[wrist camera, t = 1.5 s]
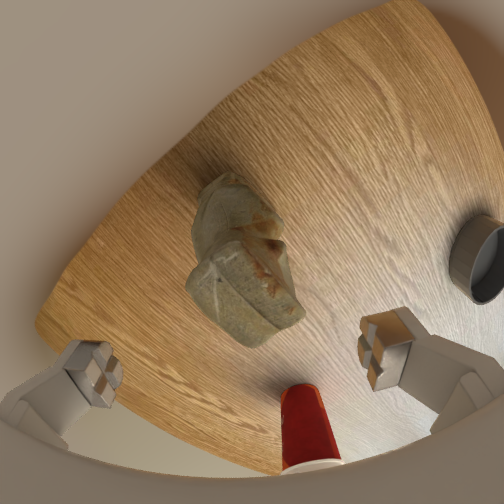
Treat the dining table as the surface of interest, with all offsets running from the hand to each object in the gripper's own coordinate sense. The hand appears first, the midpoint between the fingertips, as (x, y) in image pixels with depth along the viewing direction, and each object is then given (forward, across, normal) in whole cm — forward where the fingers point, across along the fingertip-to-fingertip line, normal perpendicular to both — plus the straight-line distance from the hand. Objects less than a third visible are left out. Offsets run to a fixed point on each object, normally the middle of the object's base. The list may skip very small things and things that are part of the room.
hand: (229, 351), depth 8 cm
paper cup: (+18, -4, +27) cm, 33 cm away
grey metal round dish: (+18, -30, +8) cm, 36 cm away
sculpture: (+18, 0, 0) cm, 18 cm away
